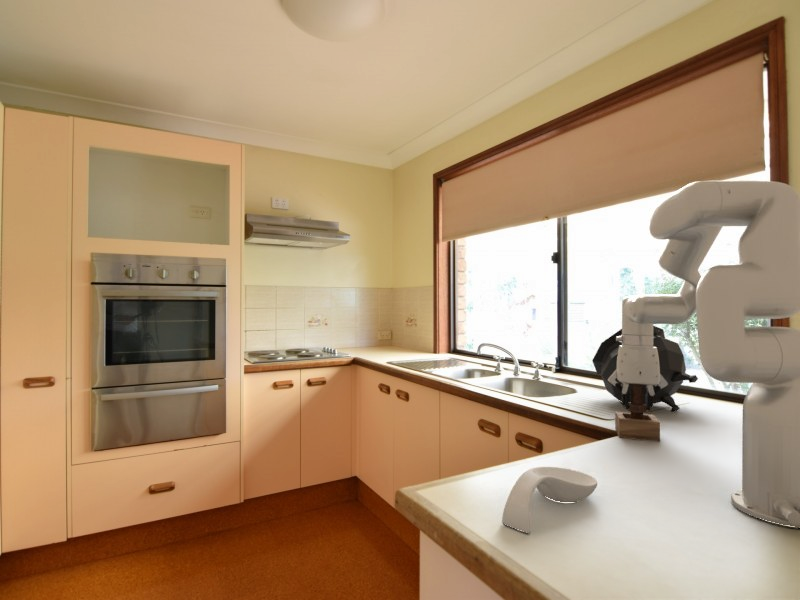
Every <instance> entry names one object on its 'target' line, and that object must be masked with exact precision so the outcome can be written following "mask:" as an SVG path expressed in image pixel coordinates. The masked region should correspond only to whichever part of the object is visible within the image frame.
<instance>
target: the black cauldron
mask: <svg viewBox="0 0 800 600" xmlns="http://www.w3.org/2000/svg"><path fill="white" fill-rule="evenodd" d="M621 335H622V328H620V329H619V330H618V331H617V332H615V333H614V334H612V335H611V336H610V337H608V338H607V339H605V340H604V341H602V342H601V343H600V345H599V347H598V348H597V350H596V353H595V354H594V356H593V358H592V364H593V366H594V367H593V368H595V372H596V374H597V375H599V376H601V379H602V381H603V384H604V387H605V390H606V391H607V392H608V393H609V394H610V395H612V396H613V397H614V398H615V399H616V400H618V401H619V400H620V402H622V392H621V391H620V390H619V389H618V388H617V387H615V386H614V385H613V384H611V383H610V382H609V381H608V378H609V377H610V376H611V375H612V374H613V373H614V371H615V370H616V366H617V356H618V350H619V346H620V345H622V343H621V342H619V341H616V336H618V337H619V336H621ZM653 347H657V351H658V356H659V366H660V374H661V375H662V376H663V378H664V379H665V380H666V381H667V383H668V385H667V386H665V387H664V388H662V389H660V390H659V391H658V392H657V393H655V395H654V396H653V405H654V404H659V403H664V404H666V405H667V406H669V407H671V409H670V412H678V411H679V410H680V406H679V405H677V404H676V402H675V399H674V397H673V395H674V394H676V392H678V389H679V388H680V387H681V385H682V384H683V382H684V381H688V382H689V383H691V384H692V383H696V382H697V381H698V380H699V378H698V377H697V375H696V374H693V375H690V374H688V373H687V368H686V362H685V356H684V353H683V351H682V349H681V346H680V345H679V343H678V342H675V341H672V340H671V339H668V338H666V336H665V331H664V329H663V328H662V327H661V328H660V327H658V326H656V325H653ZM615 381H616V382H618V383H619V384H620V385H621V386H622V382H620V381H619V380H618V379H617V378H616V379H615ZM659 383H660V382H659ZM652 386H653V387H654V386H655V385H652ZM643 388H644V391H643V393H644V396H643V397H644V401H643V402H644V404H645V395H646V394H647V388H646V385H644V386H643ZM630 391H631V384H629V386H628V389H627V392H628V395H629V403H631V402H630V401H631V397H630V396H631V392H630Z"/></svg>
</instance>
